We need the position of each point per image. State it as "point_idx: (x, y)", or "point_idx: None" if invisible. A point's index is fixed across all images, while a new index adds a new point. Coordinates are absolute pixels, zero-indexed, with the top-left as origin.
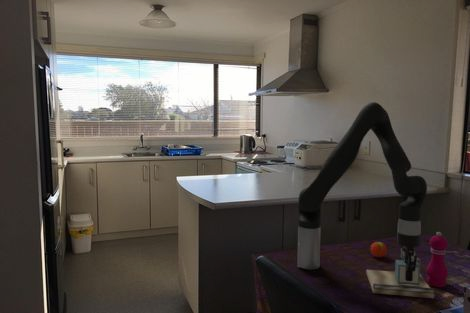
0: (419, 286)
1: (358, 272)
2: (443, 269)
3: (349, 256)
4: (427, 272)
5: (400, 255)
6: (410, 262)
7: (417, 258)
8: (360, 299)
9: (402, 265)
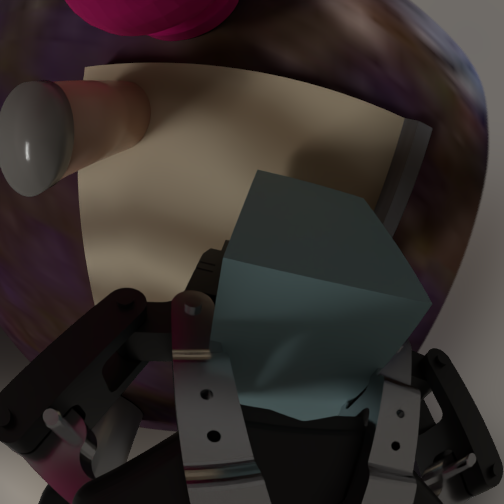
0: (299, 152)
1: None
2: None
3: (7, 289)
4: (146, 31)
5: (102, 370)
6: (450, 450)
7: (12, 107)
8: None
9: (334, 414)
